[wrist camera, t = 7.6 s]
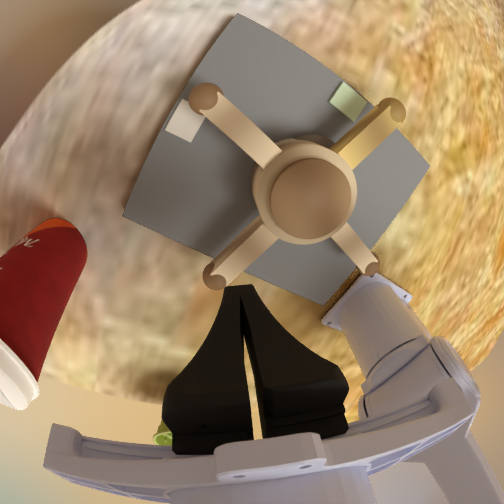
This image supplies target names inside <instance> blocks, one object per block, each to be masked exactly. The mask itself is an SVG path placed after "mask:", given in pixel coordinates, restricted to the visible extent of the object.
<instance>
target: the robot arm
mask: <svg viewBox="0 0 504 504" xmlns="http://www.w3.org/2000/svg"><path fill="white" fill-rule="evenodd" d="M411 299H412V295H411V294H410V293H408V292H407V291H405V290H404V289H402V288H401V287H399V286H398V285H396V284H395V283H393V282H392V281H390V280H388V279H387V278H385V277H384V276H382V275H381V274H379V273H377V272H376V273H375V274H374V275H372V276H364V275H362V274H361V275H360V276H359V277H358V279H357V280H356V281H355V282H354V283H353V284H352V286H351V287H350V288H349V289H348V290H347V291H346V293H345V294H344V295H343V296H342V297H341V298H340V299H339V300H338V302H337V303H336V304H335V305H334V306H333V307H332V308H331V309H330V310H329V312H328V313H327V314H326V315H325V316H324V317H323V318H322V319H321V322H322V324H323V325H326V326H329V327H331V328H334V329H337V330H340V331H343V332H344V334H345V337H346V339H347V341H348V343H349V345H350V347H351V349H352V351H353V353H354V355H355V358H356V360H357V362H358V364H359V366H360V368H361V371H362V373H363V375H364V377H365V379H366V381H365V382H364V383H362V384H361V387H362V390H363V392H364V394H363V395H362V396H361V397H360V399H359V402H358V415H359V419H360V420H359V421H355V422H352V423H349V424H348V423H347V421H346V418H345V415H344V413H345V408H344V405H343V402H344V400H345V398H346V396H347V394H348V391H349V386H348V383H347V380H346V378H345V377H344V375H343V373H342V372H341V370H340V368H339V367H338V366H337V365H336V364H334V363H332V362H330V361H328V360H326V359H324V358H322V357H320V356H319V355H317V354H316V353H314V352H313V351H311V350H310V349H308V348H307V347H306V346H304V345H303V344H302V343H300V342H299V341H298V340H297V339H295V338H294V337H293V336H292V335H291V334H290V333H289V332H288V331H287V330H286V329H285V328H284V327H283V326H282V325H281V324H280V323H279V322H278V321H277V320H276V319H275V318H274V316H273V315H272V314H271V313H270V311H269V310H268V309H267V307H266V306H265V305H264V303H263V302H262V300H261V299H260V297H259V295H258V294H257V292H256V290H255V288H254V286H253V285H252V284H248V285H238V286H228V287H225V288H224V294H223V298H222V302H221V305H220V308H219V311H218V314H217V316H216V319H215V321H214V323H213V325H212V328H211V330H210V332H209V334H208V335H207V337H206V339H205V341H204V342H203V344H202V346H201V347H200V349H199V350H198V352H197V353H196V355H195V356H194V357H193V359H192V360H191V361H190V362H189V363H188V365H187V366H186V367H185V368H184V370H183V371H182V372H181V373H180V374H179V375H178V376H177V377H176V378H175V379H174V380H173V381H172V382H171V383H170V384H169V385H168V387H167V390H166V393H165V396H164V400H163V406H162V420H163V422H164V423H165V425H166V426H167V427H168V429H169V430H170V431H171V433H172V446H167V445H147V444H136V443H126V442H118V441H110V440H103V439H98V438H92V437H86V436H82V435H81V434H80V433H79V432H78V431H77V430H75V429H73V428H71V427H67V426H62V425H58V424H52V427H51V431H50V435H49V439H48V444H47V448H46V454H45V459H44V464H43V466H44V467H45V468H46V469H48V470H50V471H51V472H53V473H55V474H57V475H59V476H60V477H62V478H64V479H66V480H68V481H70V482H72V483H75V484H79V485H82V486H85V487H89V488H93V489H97V490H100V491H104V492H108V493H112V494H117V495H122V496H126V497H131V498H136V499H142V500H148V501H155V502H163V503H170V504H377V503H376V500H375V497H374V493H373V490H372V487H371V484H370V481H369V478H368V476H370V475H372V474H375V473H377V472H379V471H382V470H384V469H386V468H389V467H391V466H393V465H395V464H397V463H399V462H416V463H425V464H426V466H427V467H428V469H429V470H430V472H431V474H432V475H433V477H434V478H435V480H436V482H437V483H438V485H439V487H440V488H441V490H442V492H443V493H444V495H445V497H446V498H447V500H448V502H449V503H450V504H504V493H503V490H502V488H501V486H500V484H499V482H498V480H497V478H496V476H495V474H494V472H493V470H492V469H491V467H490V465H489V463H488V461H487V459H486V458H485V456H484V454H483V452H482V450H481V449H480V447H479V445H478V444H477V442H476V440H475V439H474V437H473V435H472V434H471V432H470V430H469V429H470V427H471V424H472V422H473V420H474V417H475V415H476V413H477V410H478V408H479V405H480V401H481V399H480V390H479V387H478V386H477V384H476V382H475V381H474V379H473V377H472V375H471V373H470V371H469V369H468V368H467V366H466V364H465V363H464V361H463V360H462V359H461V357H460V356H459V354H458V353H457V352H456V350H455V349H454V348H453V347H452V345H451V344H450V343H449V342H448V341H447V340H446V339H445V338H444V337H443V336H434V337H433V338H432V337H431V334H430V333H429V331H428V330H427V328H426V327H425V326H424V324H423V323H422V321H421V320H420V319H419V317H418V316H417V315H416V313H415V312H414V311H413V309H412V308H411V307H410V305H409V304H408V303H409V301H410V300H411ZM329 321H330V322H329ZM244 338H245V342H246V346H247V350H248V354H249V358H250V362H251V366H252V370H253V375H254V381H255V388H256V395H257V402H258V409H259V416H260V422H261V429H262V437H263V439H259V440H254V437H253V427H252V418H251V407H250V399H249V391H248V385H247V378H246V371H245V365H244Z"/></svg>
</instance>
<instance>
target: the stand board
mask: <svg viewBox="0 0 504 504" xmlns="http://www.w3.org/2000/svg"><path fill="white" fill-rule="evenodd" d="M201 83H213V84H215V85H217V86H218V87H219V88H220V89H221V90H222V92H223V94H224V97H225V98H226V99H228V100H229V101H230V102H231V103H232V104H233V105H234V106H235V107H237V108H238V109H239V110H240V111H241V112H242V113H243V114H244V115H245V116H246V117H248V118H249V119H250V120H251V121H252V122H253V123H254V124H255V125H256V126H257V127H258V128H259V129H260V130H261V131H262V132H263V133H264V134H265V135H267V136H268V137H269V138H270V139H271V140H272V141H273V142H274V143H276V142H278V141H281V140H284V139H289V138H294V137H296V136H299V135H302V134H317V135H321V136H323V137H326V138H328V139H330V140H332V141H333V142H335V143H336V142H337V141H338V140H339V139H340V138H341V137H342V136H343V135H344V134H346V133H347V132H348V131H349V130H350V129H351V128H352V127H353V126H354V125H355V124H357V123H358V122H359V121H360V120H361V119H362V118H363V117H364V116H365V115H366V114H368V113H369V112H370V111H371V110H372V109H373V108H374V106H373V105H372V104H371V103H370V102H369V101H367V100H366V99H365V98H364V97H363V96H362V95H361V94H359V93H358V92H357V91H356V90H355V89H354V88H352V87H351V86H350V85H349V84H348V83H346V82H345V81H344V80H343V79H341V78H340V77H339V76H338V75H336V74H335V73H334V72H332V71H331V70H330V69H328V68H327V67H326V66H324V65H323V64H322V63H320V62H319V61H318V60H316V59H315V58H313V57H312V56H310V55H309V54H307V53H306V52H305V51H303V50H302V49H300V48H299V47H297V46H295V45H294V44H292V43H291V42H289V41H288V40H286V39H284V38H283V37H281V36H279V35H278V34H276V33H274V32H273V31H271V30H269V29H267V28H266V27H264V26H262V25H260V24H258V23H256V22H254V21H253V20H251V19H249V18H247V17H245V16H243V15H241V14H239V13H237V14H236V15H235V17H234V18H233V19H232V20H231V22H230V23H229V24H228V25H227V27H226V28H225V29H224V31H223V32H222V33H221V35H220V36H219V37H218V39H217V40H216V41H215V43H214V44H213V46H212V47H211V48H210V50H209V51H208V53H207V54H206V56H205V57H204V58H203V60H202V61H201V63H200V64H199V66H198V67H197V69H196V70H195V72H194V74H193V75H192V77H191V78H190V80H189V81H188V83H187V85H186V86H185V88H184V90H183V91H182V93H181V95H180V96H179V98H178V100H177V101H176V103H175V105H174V107H173V108H172V110H171V112H170V114H169V116H168V117H167V119H166V121H165V123H164V125H163V127H162V129H161V130H160V132H159V134H158V136H157V138H156V140H155V142H154V144H153V146H152V148H151V150H150V152H149V154H148V156H147V159H146V161H145V163H144V165H143V167H142V169H141V171H140V174H139V176H138V178H137V180H136V183H135V185H134V187H133V190H132V192H131V195H130V197H129V199H128V202H127V204H126V207H125V209H124V212H123V215H122V216H123V217H125V218H127V219H130V220H132V221H134V222H136V223H138V224H140V225H142V226H144V227H147V228H149V229H151V230H153V231H155V232H157V233H159V234H162V235H164V236H166V237H168V238H170V239H172V240H175V241H177V242H179V243H181V244H183V245H185V246H188V247H190V248H192V249H194V250H196V251H199V252H201V253H203V254H205V255H208V256H210V257H212V258H214V259H215V258H216V257H217V256H218V255H219V254H220V253H221V252H222V251H223V250H224V249H225V248H226V247H227V246H228V245H229V244H230V243H231V242H232V241H233V240H234V239H235V238H236V237H237V236H238V235H239V234H240V233H241V232H242V231H243V230H244V229H245V228H246V227H247V226H248V225H249V224H250V223H251V222H252V221H253V220H254V219H255V218H256V217H258V216H259V215H260V213H259V211H258V208H257V205H256V203H255V200H254V198H253V195H252V191H251V184H250V181H251V173H252V169H253V167H254V164H255V162H256V161H255V160H254V159H252V158H251V157H250V156H249V155H248V154H247V153H246V152H245V151H244V150H243V149H242V148H241V147H239V146H238V145H237V144H236V143H235V142H234V141H233V140H232V139H231V138H229V137H228V136H227V135H226V134H225V133H224V132H223V131H222V130H220V129H219V128H218V127H217V126H216V125H215V124H213V123H212V122H211V121H210V120H209V119H208V118H207V117H205V116H203V115H199V114H197V113H195V112H194V111H193V110H192V109H191V108H190V105H189V101H188V98H189V94H190V92H191V90H192V89H193V88H194V87H195V86H197V85H199V84H201ZM429 167H430V165H429V164H428V163H427V162H426V160H425V159H424V158H423V157H422V156H421V154H420V153H419V152H418V151H417V150H416V149H415V148H414V147H413V145H412V144H411V143H410V142H409V141H408V140H407V139H406V138H405V137H404V136H403V135H402V134H401V132H400V131H399V130H398V129H397V128H396V129H395V130H394V131H393V132H392V133H391V134H390V135H389V136H388V137H387V138H386V139H385V140H384V141H383V142H382V143H381V144H379V145H378V146H377V147H376V148H375V149H374V150H373V151H372V152H371V153H370V154H369V155H368V156H367V157H366V158H365V159H364V160H362V161H361V162H360V163H359V164H358V165H357V166H356V167H355V168H354V169H353V170H352V171H353V173H354V176H355V179H356V184H357V199H356V204H355V207H354V210H353V212H352V214H351V216H350V218H349V219H348V221H347V223H348V224H349V225H350V227H351V228H352V229H353V230H354V231H355V233H356V234H357V235H358V236H359V238H360V239H361V240H362V241H363V243H364V244H365V245H366V246H367V248H368V249H369V250H371V249H372V247H373V246H374V245H375V243H376V242H377V241H378V240H379V238H380V237H381V236H382V234H383V233H384V232H385V230H386V229H387V228H388V226H389V225H390V224H391V222H392V221H393V220H394V218H395V217H396V215H397V214H398V213H399V211H400V210H401V209H402V207H403V206H404V204H405V203H406V201H407V200H408V199H409V197H410V196H411V194H412V193H413V191H414V190H415V188H416V187H417V185H418V184H419V182H420V181H421V179H422V178H423V176H424V175H425V173H426V172H427V170H428V169H429ZM355 268H356V264H355V263H354V262H353V261H352V260H351V259H350V257H349V256H348V255H347V254H346V253H345V252H344V251H343V250H342V249H341V247H340V246H339V245H338V244H337V243H336V242H335V241H334V240H333V239H332V238H331V237H329V238H327V239H325V240H323V241H321V242H318V243H314V244H307V245H299V244H292V243H289V242H286V241H283V240H281V239H280V238H279V239H278V240H277V241H275V242H274V243H273V244H272V245H271V246H270V247H269V248H268V249H267V250H266V251H265V252H263V253H262V254H261V255H260V256H259V257H258V258H257V259H256V260H255V261H254V262H253V263H252V264H250V265H249V266H248V267H247V268H246V269H245V270H244V271H243V272H246V273H248V274H250V275H253V276H255V277H257V278H259V279H262V280H264V281H266V282H269V283H271V284H273V285H275V286H278V287H280V288H282V289H285V290H287V291H289V292H292V293H294V294H296V295H299V296H301V297H303V298H306V299H308V300H311V301H313V302H315V303H318V304H320V305H322V306H324V305H325V303H326V302H327V301H328V300H329V299H330V298H331V297H332V296H333V294H334V293H335V292H336V291H337V290H338V289H339V287H340V286H341V285H342V284H343V283H344V282H345V280H346V279H347V278H348V277H349V276H350V274H351V273H352V272H353V271H354V270H355Z"/></svg>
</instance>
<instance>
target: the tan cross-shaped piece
mask: <svg viewBox="0 0 504 504" xmlns="http://www.w3.org/2000/svg"><path fill="white" fill-rule="evenodd" d="M188 101H189V105H190V108H191V109H192V110H193V111H194V112H195V113H197V114H199V115H203V116H205V117H207V118H208V119H209V120H210V121H211V122H212V123H213V124H215V125H216V126H217V127H218V128H219V129H220V130H222V131H223V132H224V133H225V134H226V135H227V136H228V137H229V138H231V139H232V140H233V141H234V142H235V143H236V144H237V145H238V146H239V147H241V148H242V149H243V150H244V151H245V152H246V153H247V154H248V155H249V156H250V157H251V158H252V159H254V160H255V161H256V162H255V164H254V167H253V169H252V173H251V181H250V184H251V191H252V195H253V198H254V200H255V203H256V205H257V208H258V211H259V213H260V215H259V216H258V217H256V218H255V219H254V220H253V221H252V222H251V223H250V224H249V225H248V226H247V227H246V228H245V229H244V230H243V231H242V232H241V233H240V234H239V235H238V236H237V237H236V238H235V239H234V240H233V241H232V242H231V243H230V244H229V245H228V246H227V247H226V248H225V249H224V250H223V251H222V252H221V253H220V254H219V255H218V256H217V257H216V258H215V259H214V260H213V261H212V262H211V263H210V264H208V265H207V266H206V267H205V269H204V271H203V281H204V283H205V284H206V286H207V287H209V288H210V289H213V290H220V289H223V288H225V287H226V286H227V285H229V284H230V283H231V282H232V281H233V280H234V279H235V278H236V277H237V276H238V275H239V274H241V273H242V272H243V271H244V270H245V269H246V268H247V267H248V266H249V265H250V264H252V263H253V262H254V261H255V260H256V259H257V258H258V257H259V256H260V255H261V254H262V253H263V252H265V251H266V250H267V249H268V248H269V247H270V246H271V245H272V244H273V243H274V242H275V241H277V240H278V239H279V238H280V239H281V240H283V241H286V242H289V243H292V244H299V245H307V244H314V243H318V242H321V241H323V240H325V239H327V238H329V237H331V238H332V239H333V240H334V241H335V242H336V243H337V244H338V245H339V246H340V247H341V249H342V250H343V251H344V252H345V253H346V254H347V255H348V256H349V257H350V259H351V260H352V261H353V262H354V263H355V264H356V267H357V270H358V271H359V273H361V274H362V275H364V276H372V275H374V274H375V273H376V272H377V271H378V270H379V267H380V260H379V258H378V256H377V255H376V254H375V253H373V252H371V251H370V250H369V249H368V248H367V246H366V245H365V244H364V243H363V241H362V240H361V239H360V238H359V236H358V235H357V234H356V233H355V231H354V230H353V229H352V228H351V227H350V225H349V224H348V223H347V221H348V219H349V218H350V216H351V214H352V212H353V210H354V207H355V204H356V199H357V184H356V179H355V176H354V173H353V171H352V170H353V169H354V168H355V167H356V166H357V165H358V164H359V163H360V162H361V161H362V160H364V159H365V158H366V157H367V156H368V155H369V154H370V153H371V152H372V151H373V150H374V149H375V148H376V147H377V146H378V145H379V144H381V143H382V142H383V141H384V140H385V139H386V138H387V137H388V136H389V135H390V134H391V133H392V132H393V131H394V130H395V129H396V128H397V127H398V126H400V125H401V124H402V122H403V121H404V119H405V117H406V111H405V108H404V106H403V104H402V103H401V102H400V101H399V100H397V99H395V98H385V99H383V100H382V101H381V102H380V103H379V104H378V105H376V106H375V107H374V108H373V109H372V110H371V111H370V112H369V113H368V114H366V115H365V116H364V117H363V118H362V119H361V120H360V121H359V122H358V123H357V124H355V125H354V126H353V127H352V128H351V129H350V130H349V131H348V132H347V133H346V134H344V135H343V136H342V137H341V138H340V139H339V140H338V141H337V142H336V143H335V142H333V141H332V140H330V139H328V138H326V137H323V136H321V135H317V134H302V135H299V136H296V137H294V138H289V139H284V140H281V141H278V142H276V143H274V142H273V141H272V140H271V139H270V138H269V137H268V136H267V135H265V134H264V133H263V132H262V131H261V130H260V129H259V128H258V127H257V126H256V125H255V124H254V123H253V122H252V121H251V120H250V119H249V118H248V117H246V116H245V115H244V114H243V113H242V112H241V111H240V110H239V109H238V108H237V107H235V106H234V105H233V104H232V103H231V102H230V101H229V100H228V99H226V98H225V97H224V94H223V92H222V90H221V89H220V88H219V87H218V86H217V85H215V84H213V83H201V84H199V85H197V86H195V87H194V88H193V89H192V90H191V92H190V94H189V98H188Z"/></svg>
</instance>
